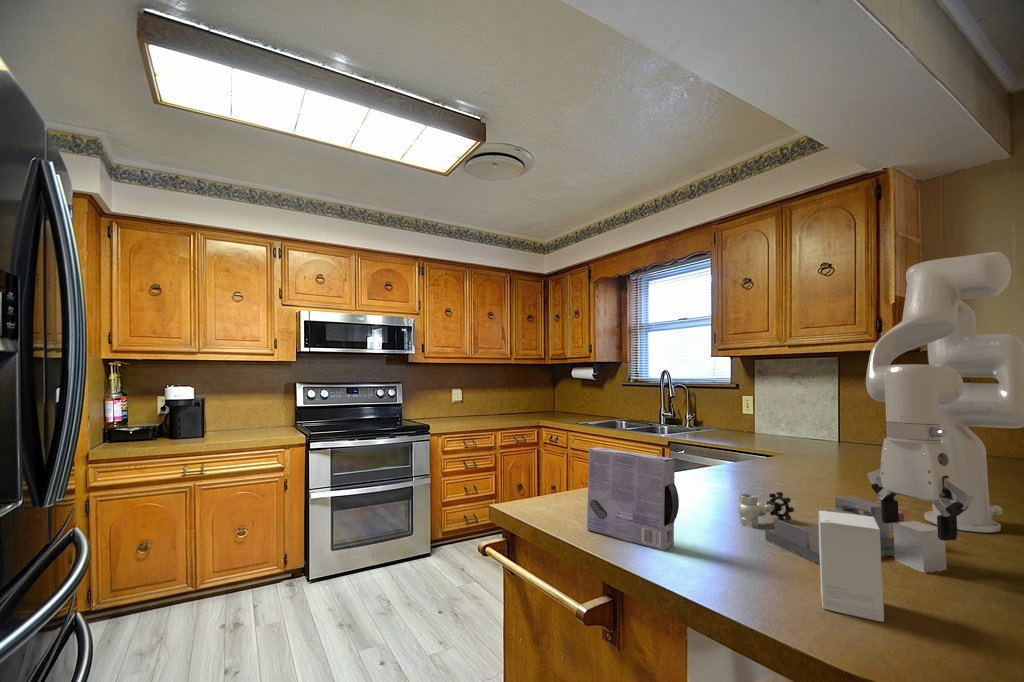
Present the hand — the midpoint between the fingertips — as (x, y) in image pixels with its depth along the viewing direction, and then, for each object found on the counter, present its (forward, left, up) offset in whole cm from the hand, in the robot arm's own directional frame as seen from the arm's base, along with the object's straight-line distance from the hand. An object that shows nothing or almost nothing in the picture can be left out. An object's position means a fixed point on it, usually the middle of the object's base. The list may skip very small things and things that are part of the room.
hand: (917, 530), depth 85 cm
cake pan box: (+43, -25, -7) cm, 50 cm away
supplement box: (+24, +9, -7) cm, 27 cm away
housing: (-1, 0, -6) cm, 6 cm away
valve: (+9, -27, -7) cm, 30 cm away
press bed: (+6, -11, -6) cm, 14 cm away
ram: (-2, -11, -4) cm, 12 cm away
